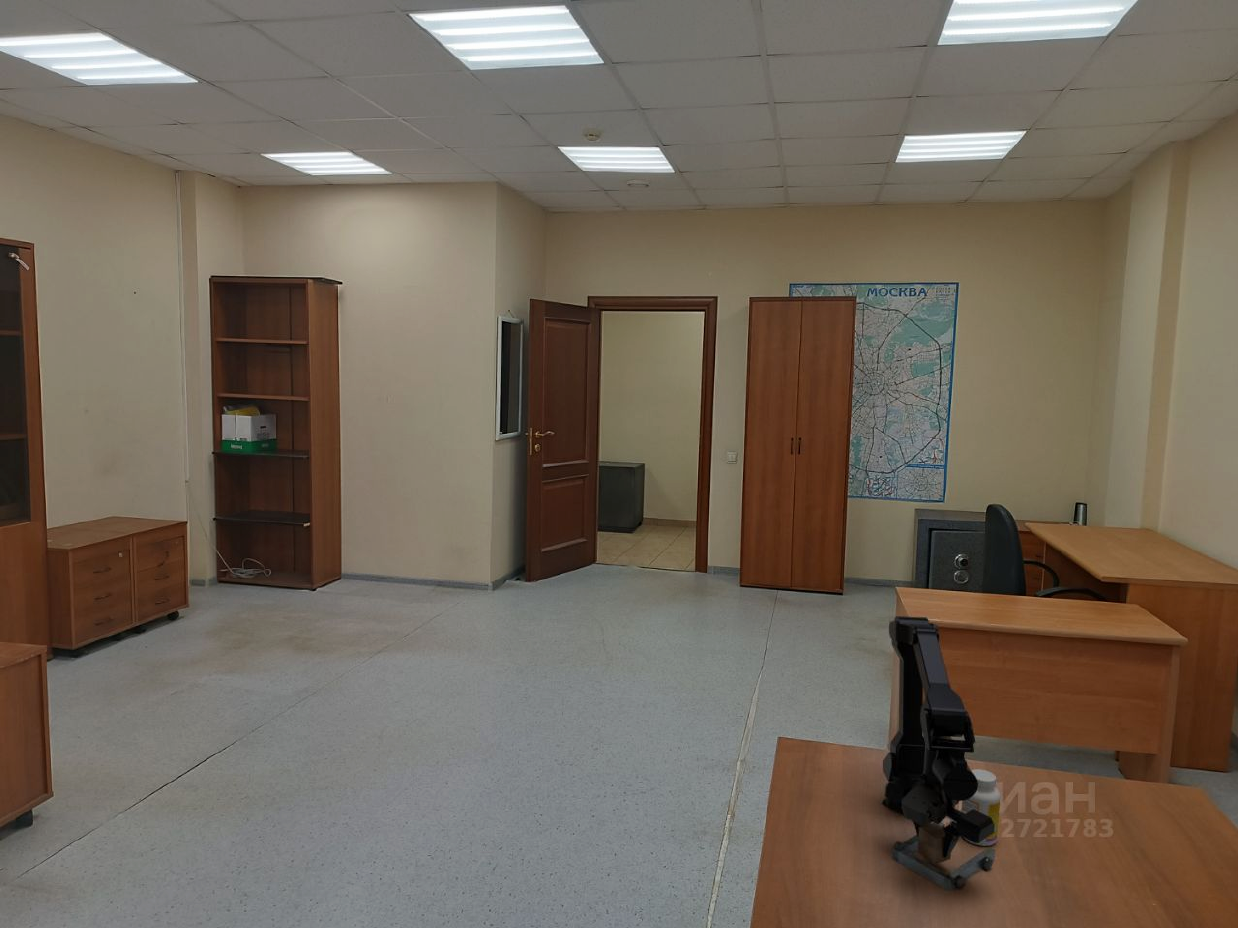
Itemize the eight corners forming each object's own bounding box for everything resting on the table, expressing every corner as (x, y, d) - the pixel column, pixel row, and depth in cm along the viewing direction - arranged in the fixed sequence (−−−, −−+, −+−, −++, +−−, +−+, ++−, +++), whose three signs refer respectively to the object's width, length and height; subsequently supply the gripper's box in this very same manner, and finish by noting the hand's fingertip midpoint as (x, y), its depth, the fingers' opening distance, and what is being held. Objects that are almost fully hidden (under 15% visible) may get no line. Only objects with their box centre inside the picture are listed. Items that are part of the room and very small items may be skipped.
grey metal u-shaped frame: (933, 828, 164) (934, 818, 163) (999, 862, 153) (1000, 852, 153) (887, 855, 154) (888, 845, 154) (954, 893, 144) (955, 883, 144)
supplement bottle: (995, 831, 163) (1000, 770, 161) (998, 850, 157) (1004, 786, 155) (958, 824, 165) (963, 763, 163) (960, 842, 159) (965, 780, 157)
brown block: (917, 852, 152) (919, 827, 152) (933, 846, 154) (935, 821, 153) (934, 864, 149) (936, 838, 148) (950, 859, 150) (952, 833, 150)
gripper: (869, 762, 151) (863, 841, 154) (964, 808, 137) (957, 894, 139) (904, 745, 158) (899, 821, 160) (999, 787, 144) (992, 870, 146)
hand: (934, 850), depth 151 cm, fingers closed on brown block, 4 cm apart
